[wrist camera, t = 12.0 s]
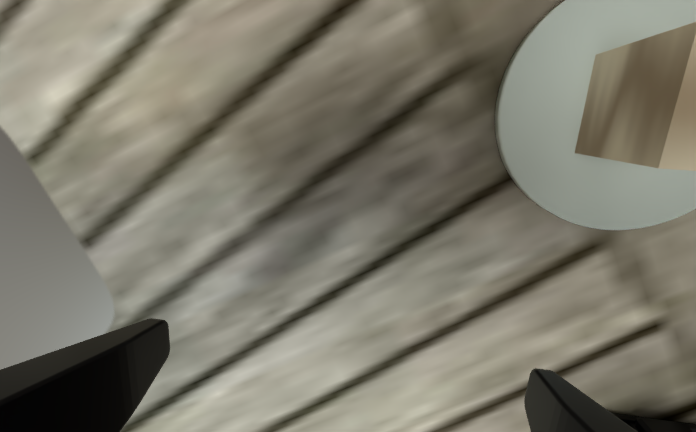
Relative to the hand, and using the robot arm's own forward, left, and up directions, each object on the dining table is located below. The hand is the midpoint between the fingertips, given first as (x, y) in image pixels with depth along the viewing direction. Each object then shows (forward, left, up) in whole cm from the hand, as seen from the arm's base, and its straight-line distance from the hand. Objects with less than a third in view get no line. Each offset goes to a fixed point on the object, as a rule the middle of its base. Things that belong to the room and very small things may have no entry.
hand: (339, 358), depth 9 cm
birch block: (+7, -12, -12) cm, 18 cm away
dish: (+7, -12, -13) cm, 19 cm away
